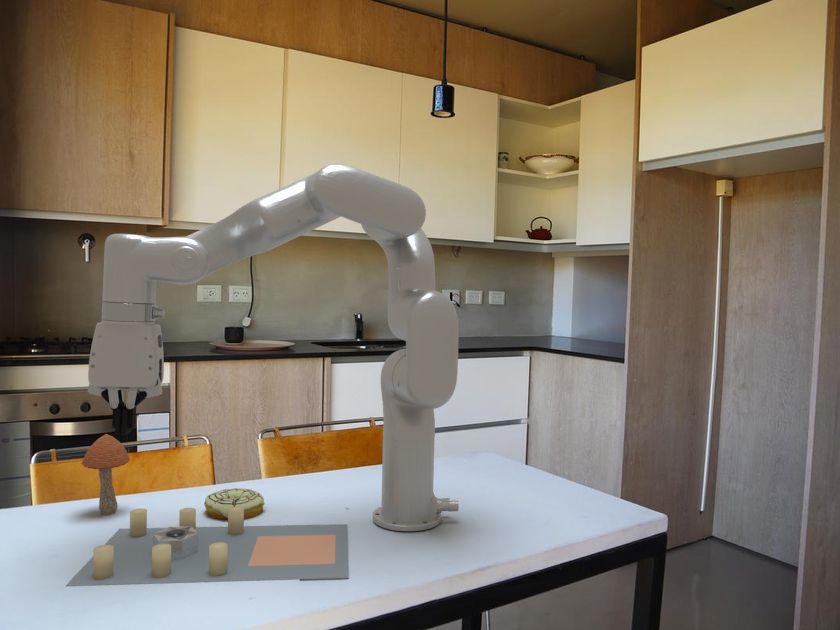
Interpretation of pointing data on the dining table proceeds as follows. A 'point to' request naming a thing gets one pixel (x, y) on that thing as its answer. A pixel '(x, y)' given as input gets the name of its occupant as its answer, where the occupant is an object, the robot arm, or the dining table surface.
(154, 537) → the hex nut
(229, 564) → the spacer board
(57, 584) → the dining table surface
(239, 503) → the decorated donut
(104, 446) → the mushroom
